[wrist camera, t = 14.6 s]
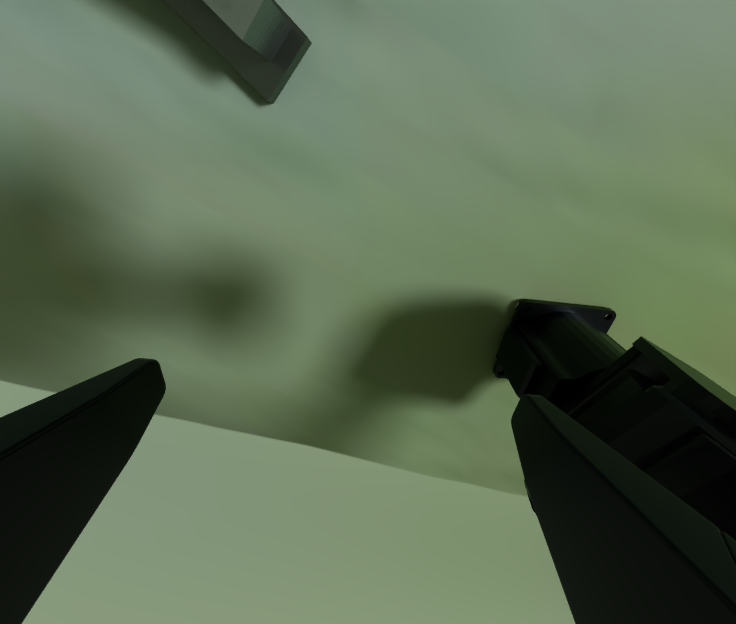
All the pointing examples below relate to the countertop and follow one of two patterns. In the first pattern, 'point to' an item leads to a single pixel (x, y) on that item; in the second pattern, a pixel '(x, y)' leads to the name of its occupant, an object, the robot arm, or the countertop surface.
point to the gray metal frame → (249, 38)
